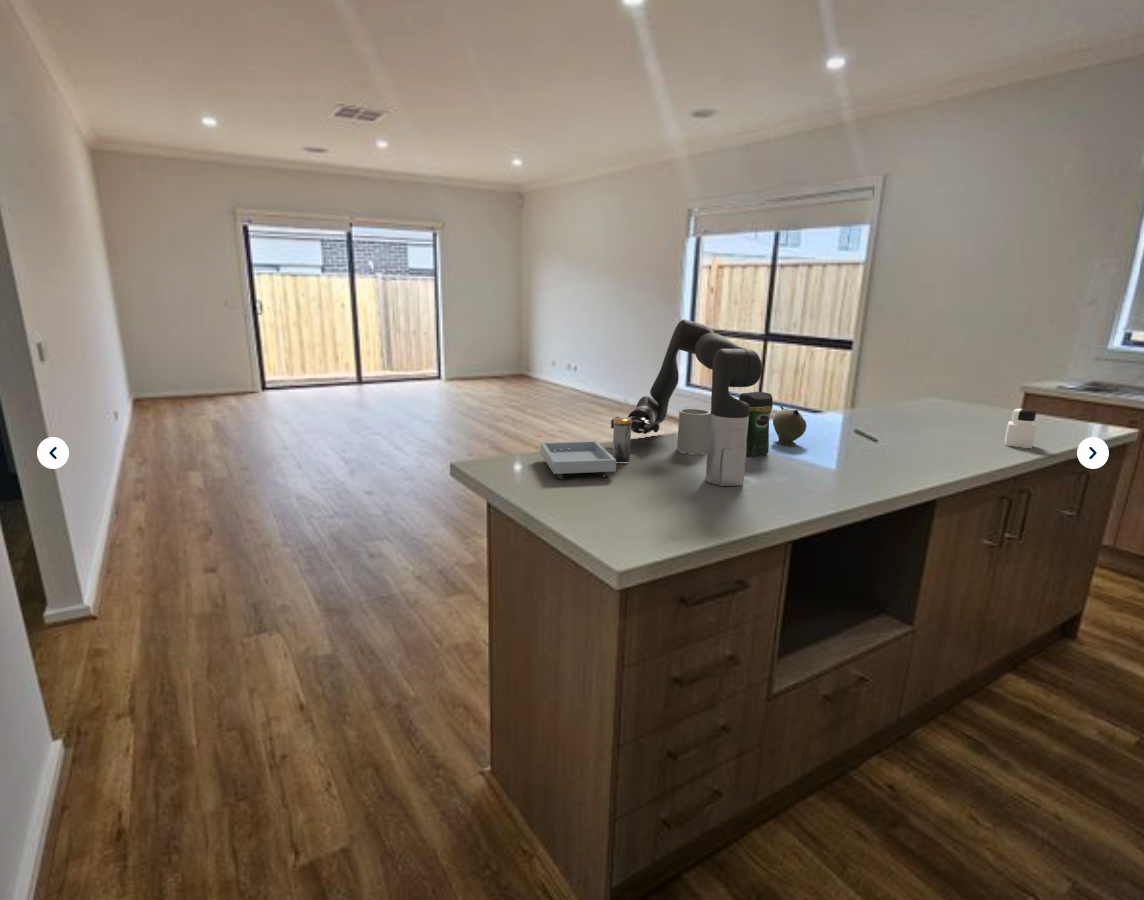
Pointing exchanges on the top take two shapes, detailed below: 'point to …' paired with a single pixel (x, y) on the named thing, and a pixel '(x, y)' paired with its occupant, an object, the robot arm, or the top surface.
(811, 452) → the top surface
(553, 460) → the dolly
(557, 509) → the top surface
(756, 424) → the coffee jar
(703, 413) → the cup
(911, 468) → the top surface
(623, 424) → the canister
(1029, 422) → the medicine bottle
